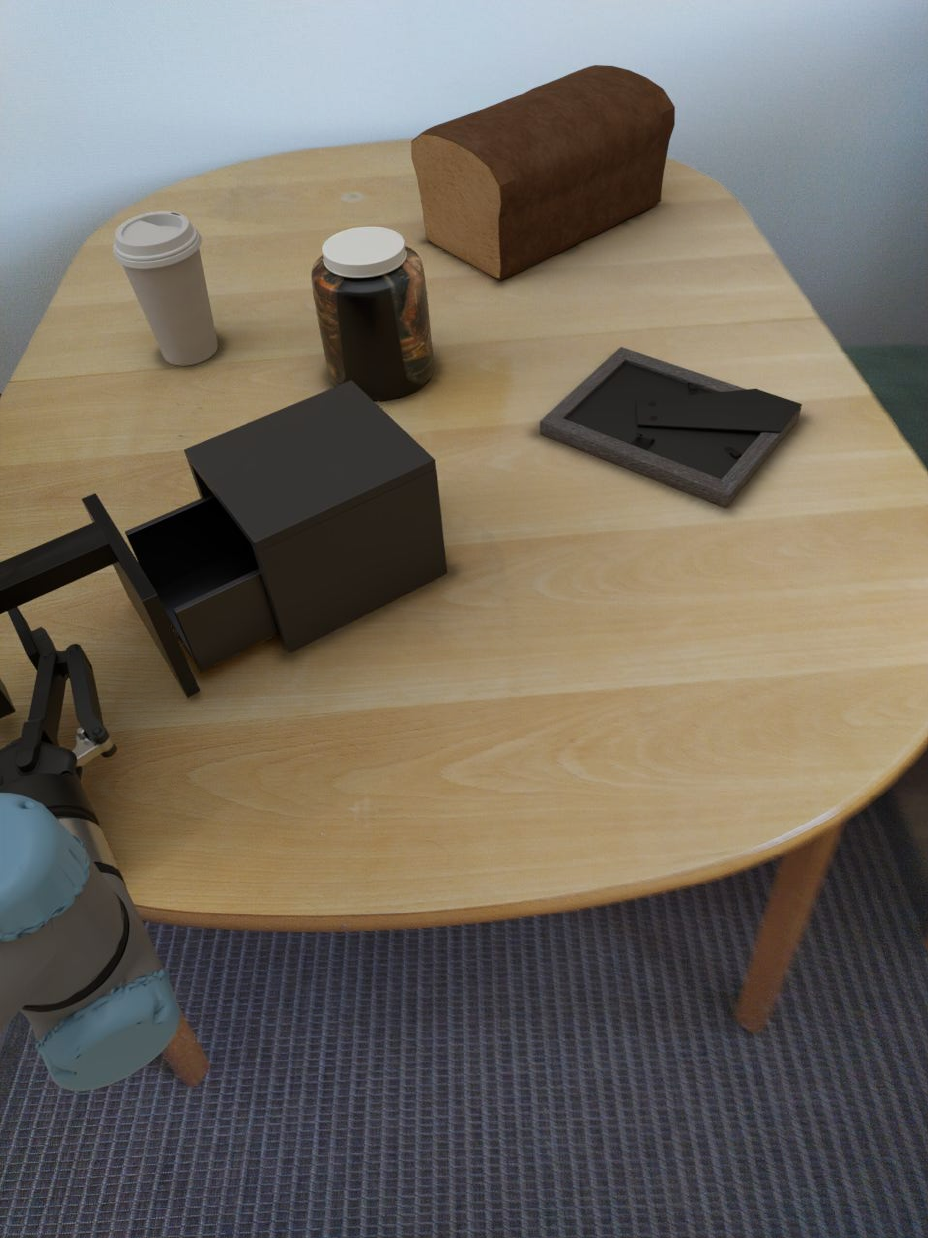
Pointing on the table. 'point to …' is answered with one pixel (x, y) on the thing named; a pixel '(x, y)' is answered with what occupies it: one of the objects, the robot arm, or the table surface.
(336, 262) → the jar
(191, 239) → the coffee cup
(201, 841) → the table surface
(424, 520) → the box
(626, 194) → the bread
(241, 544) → the fryer drawer
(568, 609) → the table surface
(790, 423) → the picture frame
